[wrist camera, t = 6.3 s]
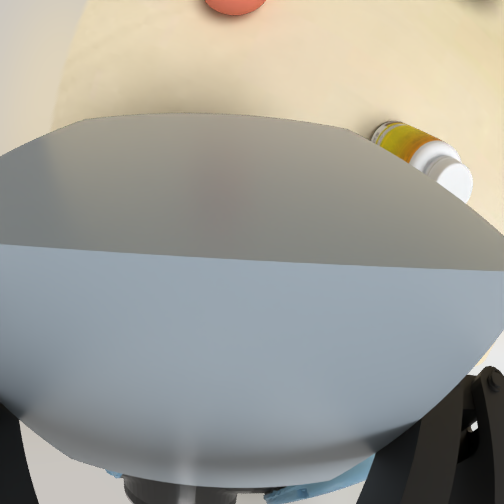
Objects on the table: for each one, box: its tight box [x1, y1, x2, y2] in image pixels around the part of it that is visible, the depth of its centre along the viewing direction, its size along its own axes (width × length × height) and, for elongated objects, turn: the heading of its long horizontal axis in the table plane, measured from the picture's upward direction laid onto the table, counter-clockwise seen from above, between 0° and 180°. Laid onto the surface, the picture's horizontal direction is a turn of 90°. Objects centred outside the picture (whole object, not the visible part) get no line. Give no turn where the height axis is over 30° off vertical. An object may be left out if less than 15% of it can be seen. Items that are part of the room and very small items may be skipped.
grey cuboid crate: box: [0, 113, 504, 488], centre depth 8 cm, size 10×10×9 cm
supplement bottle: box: [371, 121, 473, 203], centre depth 20 cm, size 6×6×10 cm
